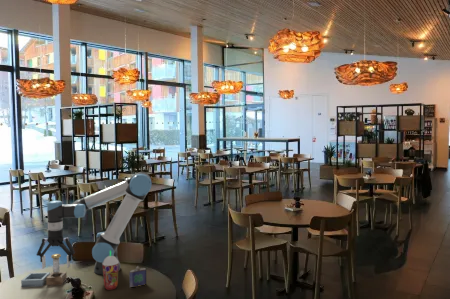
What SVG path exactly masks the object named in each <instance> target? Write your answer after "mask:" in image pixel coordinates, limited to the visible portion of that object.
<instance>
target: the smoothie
mask: <svg viewBox="0 0 450 299" xmlns="http://www.w3.org/2000/svg"><path fill="white" fill-rule="evenodd" d="M118 260H119V259H118ZM118 260H117V258H116V257H115V256H111V251H110V256H107V257H106V258H105V259H104V261H103V263H102V264H103V274H102V275H103V284H104V285H103V286H104V288H105V290H107V291H111V290H115V289H116V288H117V287H118V284H119V271H118V266H119V262H120V260H119V261H118Z"/></svg>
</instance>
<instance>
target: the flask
mask: <svg viewBox="0 0 450 299" xmlns="http://www.w3.org/2000/svg"><path fill="white" fill-rule="evenodd" d="M128 274H129V277H128V278H129V288H130V287H135V286H138V285H144V284H146V285H147V269H146V268H145V267H140V266H139V265H137V266H136V267H135V269H131V270H130V271H129V273H128Z"/></svg>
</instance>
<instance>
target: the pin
mask: <svg viewBox="0 0 450 299" xmlns="http://www.w3.org/2000/svg"><path fill="white" fill-rule="evenodd" d="M50 257H51V259H52V265H53V266H52V269H53V271H52V272H53V277H54V276H60V272H61V271H60V270H61V269H60V258H61V257H62V254H61V253H53V254H51V256H50Z"/></svg>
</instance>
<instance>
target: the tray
mask: <svg viewBox="0 0 450 299" xmlns="http://www.w3.org/2000/svg"><path fill="white" fill-rule="evenodd" d="M50 274H51V272H30V273H28V274H27V275H26V276H25V277H24V278H22V279H21V280H20V281H21V282H20V284H21V287H22V288H29V287H32V288H33V287H43V286H44V285H46V278H47V277H48V276H49V275H50Z"/></svg>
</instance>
